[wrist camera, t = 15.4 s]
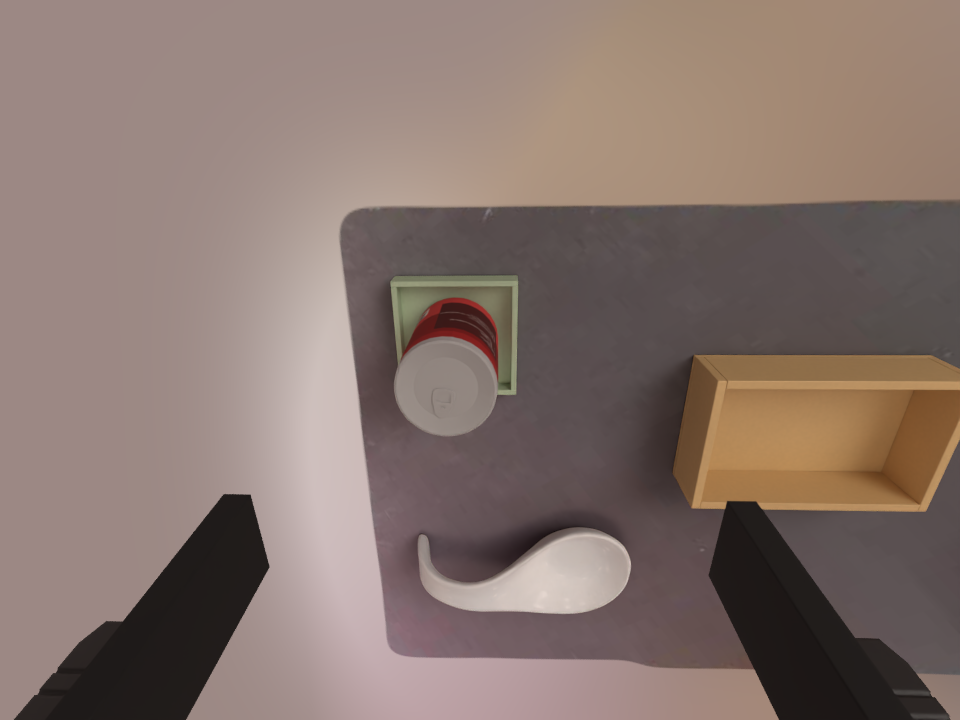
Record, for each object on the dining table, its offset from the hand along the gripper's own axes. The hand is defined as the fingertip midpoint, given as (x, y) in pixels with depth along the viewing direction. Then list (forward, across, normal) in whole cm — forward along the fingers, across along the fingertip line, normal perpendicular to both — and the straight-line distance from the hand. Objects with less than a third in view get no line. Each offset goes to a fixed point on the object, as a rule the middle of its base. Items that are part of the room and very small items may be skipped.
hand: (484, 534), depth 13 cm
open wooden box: (+32, +30, -15) cm, 46 cm away
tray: (+32, -4, -6) cm, 32 cm away
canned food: (+31, -4, -6) cm, 32 cm away
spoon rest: (+32, +3, -33) cm, 46 cm away
